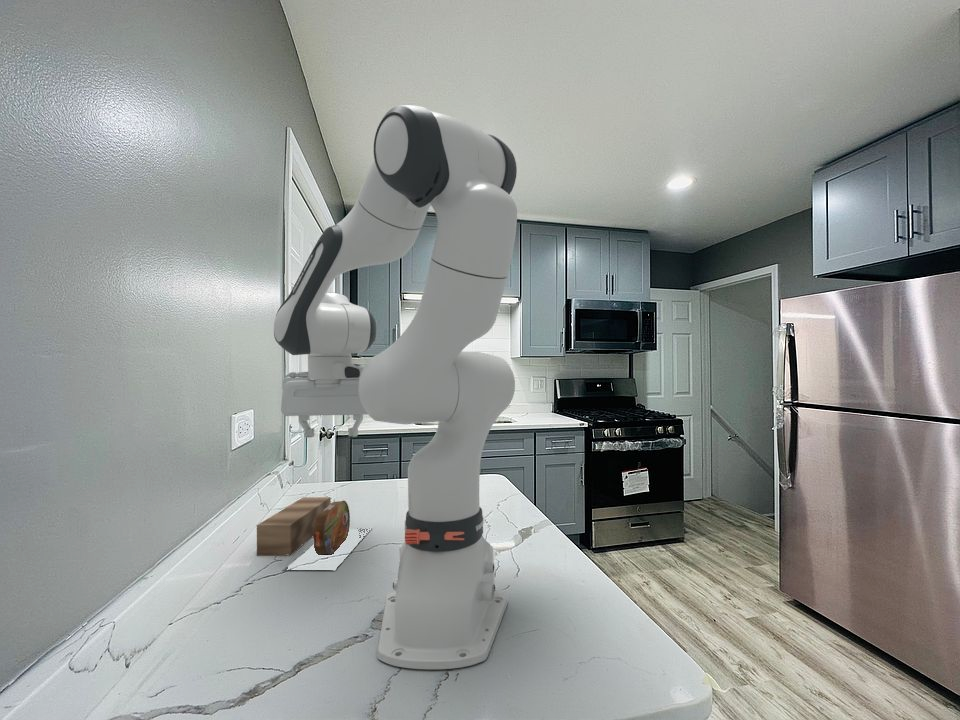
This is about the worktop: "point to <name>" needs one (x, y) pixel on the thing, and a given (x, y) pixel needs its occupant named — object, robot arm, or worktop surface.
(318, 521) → the tin
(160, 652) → the worktop surface
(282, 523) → the block
